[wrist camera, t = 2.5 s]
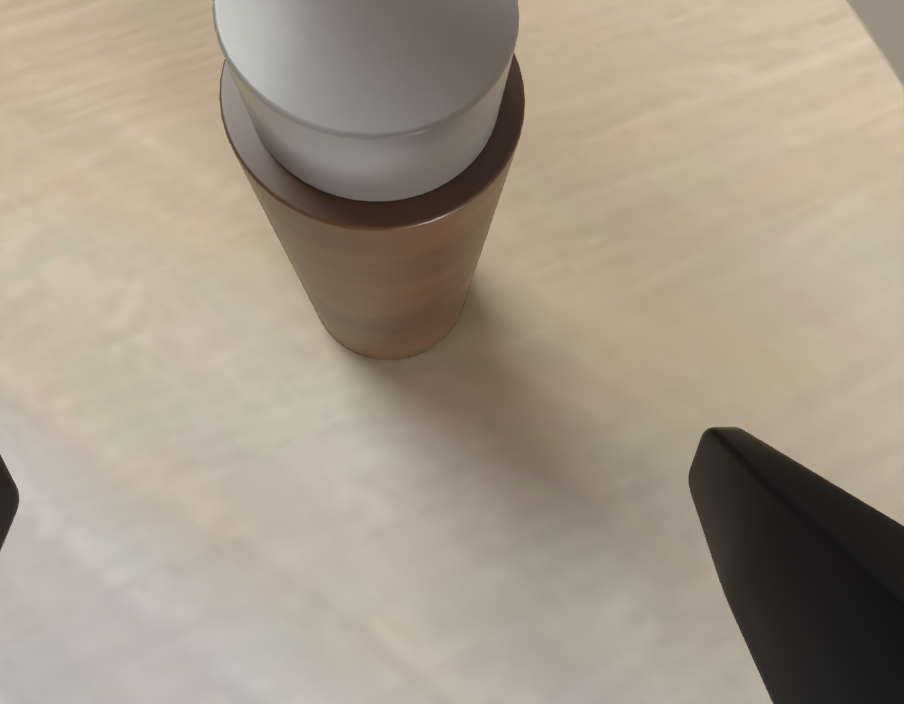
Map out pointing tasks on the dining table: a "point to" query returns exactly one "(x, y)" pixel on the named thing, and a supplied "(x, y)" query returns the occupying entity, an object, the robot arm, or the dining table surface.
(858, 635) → the robot arm
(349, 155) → the pepper mill
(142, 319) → the dining table surface
